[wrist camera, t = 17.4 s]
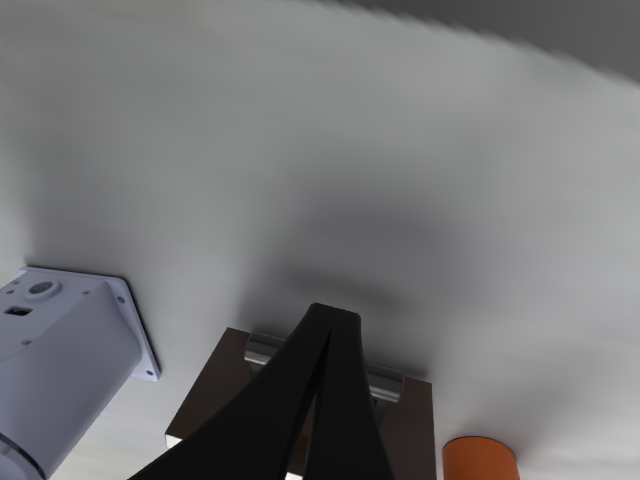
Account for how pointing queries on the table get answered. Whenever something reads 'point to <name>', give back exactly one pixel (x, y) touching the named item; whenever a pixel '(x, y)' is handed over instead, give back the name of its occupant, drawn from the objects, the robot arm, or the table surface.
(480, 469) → the bottle
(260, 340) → the drawer
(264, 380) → the robot arm
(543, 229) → the table surface
